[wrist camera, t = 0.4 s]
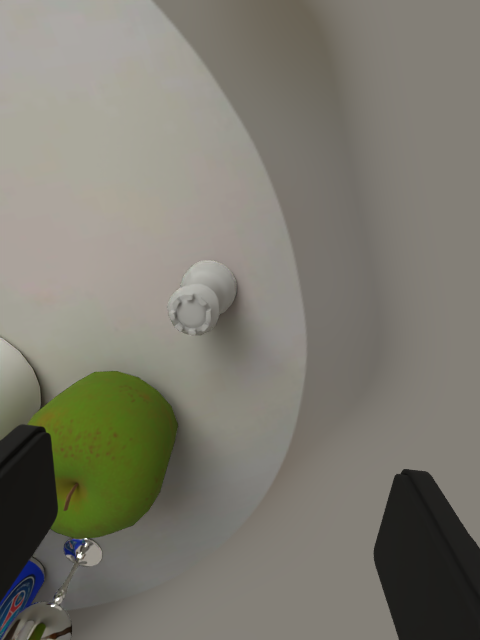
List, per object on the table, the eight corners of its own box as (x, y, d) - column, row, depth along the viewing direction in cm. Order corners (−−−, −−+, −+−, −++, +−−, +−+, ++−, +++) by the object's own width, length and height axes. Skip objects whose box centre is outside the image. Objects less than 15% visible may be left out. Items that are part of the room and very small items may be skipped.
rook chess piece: (172, 280, 28) (137, 307, 20) (215, 247, 27) (195, 262, 19) (205, 322, 29) (184, 363, 21) (248, 292, 28) (242, 324, 20)
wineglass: (83, 524, 37) (2, 665, 25) (118, 557, 38) (57, 706, 27) (47, 545, 38) (-44, 688, 27) (83, 577, 39) (10, 726, 28)
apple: (194, 377, 30) (159, 463, 20) (173, 470, 34) (134, 585, 23) (73, 346, 30) (-25, 417, 20) (64, 444, 34) (-24, 548, 23)
